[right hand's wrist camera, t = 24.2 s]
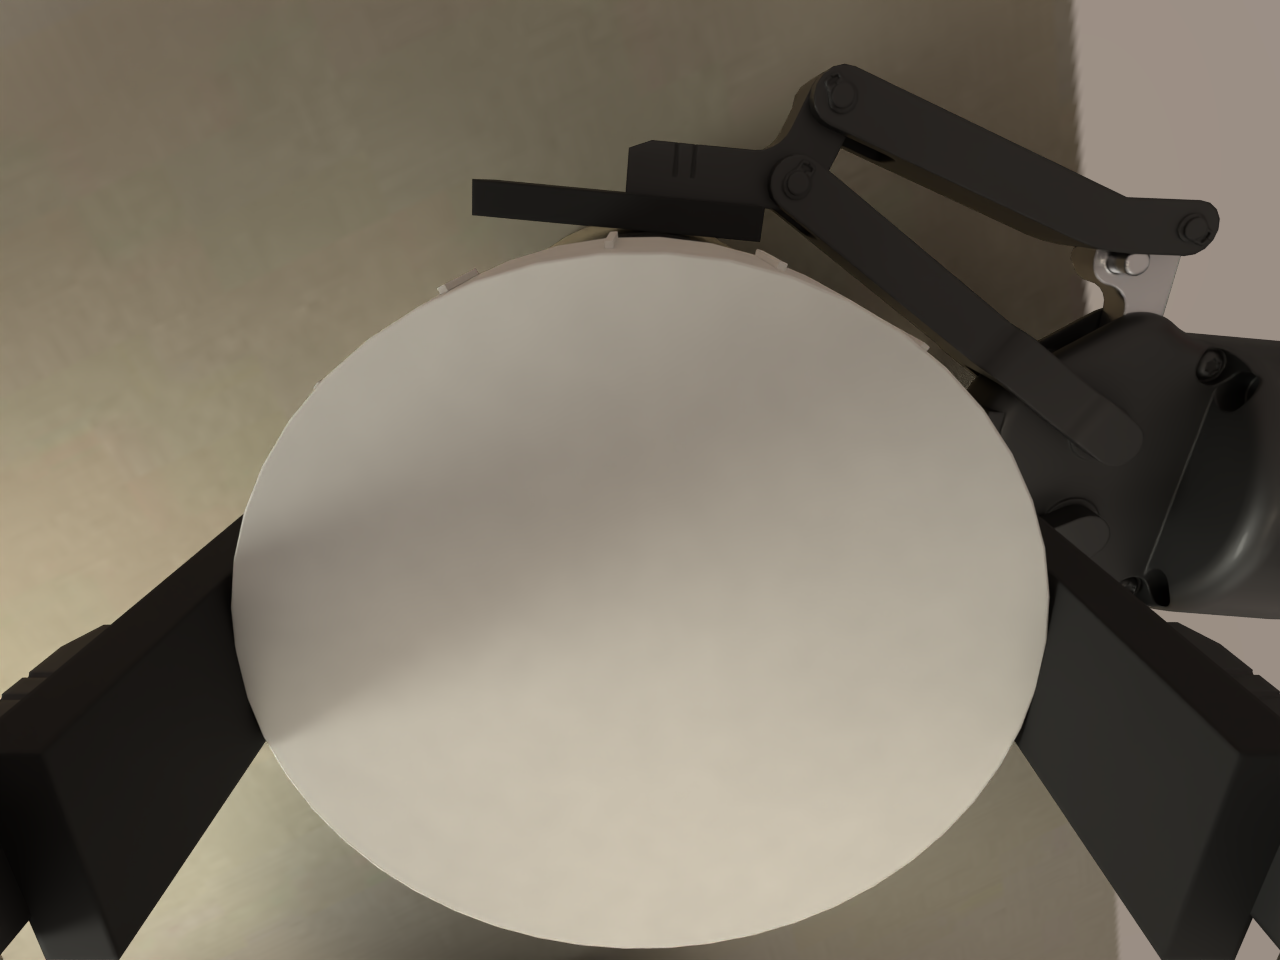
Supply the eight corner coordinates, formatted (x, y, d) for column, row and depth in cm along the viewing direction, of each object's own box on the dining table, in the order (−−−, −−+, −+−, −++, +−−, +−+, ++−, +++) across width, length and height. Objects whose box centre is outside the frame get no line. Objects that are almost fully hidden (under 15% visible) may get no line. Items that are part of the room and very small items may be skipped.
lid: (473, 889, 15) (443, 1015, 13) (167, 385, 11) (46, 436, 9) (1022, 742, 14) (1098, 854, 11) (890, 110, 10) (967, 87, 7)
